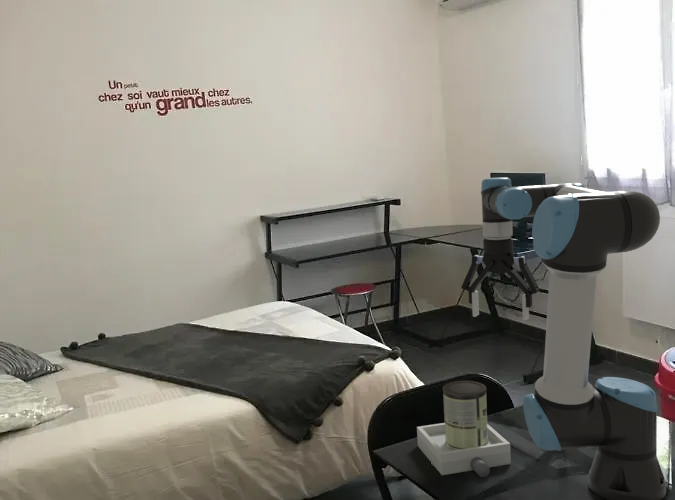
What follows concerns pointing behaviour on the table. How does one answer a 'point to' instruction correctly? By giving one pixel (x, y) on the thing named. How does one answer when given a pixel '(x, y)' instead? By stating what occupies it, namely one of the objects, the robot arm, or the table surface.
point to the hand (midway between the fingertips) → (500, 317)
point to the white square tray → (462, 451)
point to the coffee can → (465, 414)
